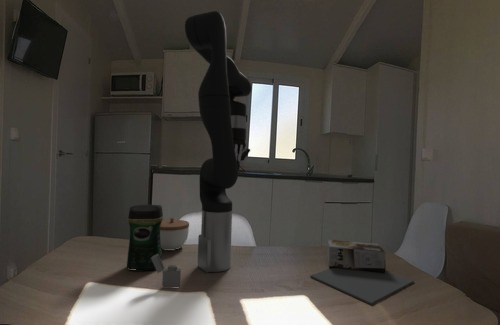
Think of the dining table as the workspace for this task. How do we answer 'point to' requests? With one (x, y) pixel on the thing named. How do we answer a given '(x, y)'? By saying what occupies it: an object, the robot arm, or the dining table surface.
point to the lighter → (167, 272)
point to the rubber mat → (363, 283)
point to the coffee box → (356, 256)
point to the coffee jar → (144, 236)
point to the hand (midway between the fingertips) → (235, 170)
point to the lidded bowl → (173, 233)
